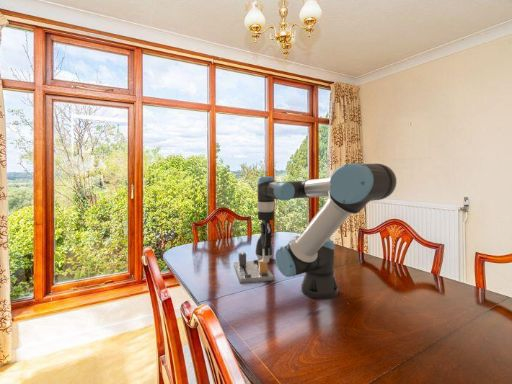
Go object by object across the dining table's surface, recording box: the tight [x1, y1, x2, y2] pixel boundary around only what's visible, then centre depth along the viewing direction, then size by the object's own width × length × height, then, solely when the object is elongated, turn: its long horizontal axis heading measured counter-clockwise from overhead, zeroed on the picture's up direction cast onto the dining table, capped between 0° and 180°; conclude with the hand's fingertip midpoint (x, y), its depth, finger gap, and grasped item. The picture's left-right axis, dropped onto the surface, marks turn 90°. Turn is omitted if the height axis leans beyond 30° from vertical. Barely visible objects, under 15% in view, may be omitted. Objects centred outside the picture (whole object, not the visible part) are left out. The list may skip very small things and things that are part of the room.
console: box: [233, 259, 275, 284], centre depth 143 cm, size 24×16×3 cm
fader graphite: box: [238, 251, 247, 266], centre depth 149 cm, size 3×4×6 cm
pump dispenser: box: [255, 234, 274, 260], centre depth 164 cm, size 10×10×15 cm
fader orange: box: [258, 259, 268, 274], centre depth 137 cm, size 3×4×6 cm
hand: (265, 261), depth 129 cm, fingers closed
